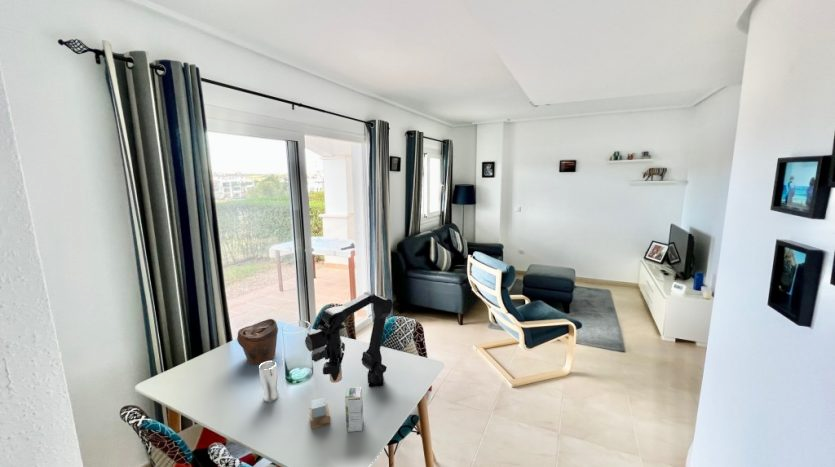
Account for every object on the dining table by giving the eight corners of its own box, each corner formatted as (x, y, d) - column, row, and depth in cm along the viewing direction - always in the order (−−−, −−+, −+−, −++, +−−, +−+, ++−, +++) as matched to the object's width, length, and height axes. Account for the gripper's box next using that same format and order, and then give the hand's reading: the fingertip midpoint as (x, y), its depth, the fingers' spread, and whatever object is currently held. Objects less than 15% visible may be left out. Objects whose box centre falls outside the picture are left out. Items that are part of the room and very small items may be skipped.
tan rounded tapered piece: (342, 374, 144) (342, 366, 143) (341, 382, 139) (340, 373, 138) (330, 375, 143) (330, 366, 142) (329, 383, 138) (328, 373, 138)
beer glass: (283, 393, 150) (280, 362, 147) (272, 404, 144) (268, 371, 141) (270, 390, 153) (266, 359, 149) (258, 400, 146) (254, 368, 143)
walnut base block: (328, 412, 139) (327, 403, 138) (330, 424, 133) (329, 415, 132) (310, 417, 137) (309, 408, 136) (311, 429, 130) (310, 420, 130)
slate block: (325, 406, 137) (324, 397, 136) (326, 415, 132) (325, 405, 131) (311, 409, 135) (310, 400, 134) (312, 418, 131) (311, 409, 130)
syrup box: (348, 420, 134) (346, 387, 131) (363, 419, 134) (361, 386, 131) (346, 432, 128) (344, 397, 125) (362, 431, 129) (360, 396, 126)
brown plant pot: (231, 366, 171) (226, 332, 167) (257, 345, 190) (254, 314, 186) (263, 371, 167) (259, 336, 163) (287, 349, 186) (284, 318, 182)
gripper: (316, 330, 146) (319, 364, 149) (307, 355, 128) (310, 393, 131) (344, 329, 147) (346, 362, 150) (338, 353, 129) (340, 391, 132)
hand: (335, 376), depth 141 cm, fingers closed on tan rounded tapered piece, 5 cm apart
